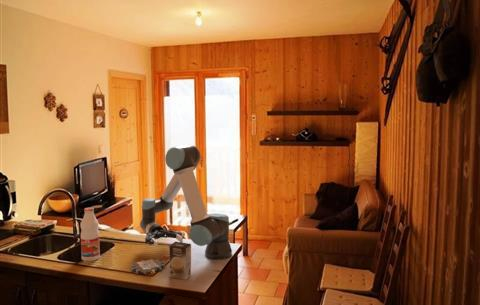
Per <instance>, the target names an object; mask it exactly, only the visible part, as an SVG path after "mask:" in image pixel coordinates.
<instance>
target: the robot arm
mask: <svg viewBox="0 0 480 305" xmlns="http://www.w3.org/2000/svg"><path fill="white" fill-rule="evenodd" d="M200 161H201V151H200V150H199V148H198V147H196V146H195V145H192V144H186V145H177V146H173V147H170V148H169V149H168V150H167V151H166V154H165V163H166V166H167V167H168V168H169V169H170V170H172V171H173V172H172V173H173V175H172V177H171V179H170V181H169V182H168V183H167V185H166V187H165V189H164V190H163V192H162V194H161V195H160V197H159V198H158V199H155V198H153V197H152V198H150V197H149V198H144V199H143V200H142V201H141V202H142V203H141V217H142V218H141V220H140V222H139V226H140V228H141V230H142V231H143V232H144V233H145V234H146V235H145V239H144V240H145V242H144V243H145V244H148V245H149V246H150V245H153V246H154V247H155V248H158V247H159V242H158V241H157V240H158V239H160V238H162V239H163V238H166V239H167V238H173V239H176V240H177V242H182V243H184V241H183V240H184V237H183V235H182V234H183V233H182V232H180V231H177V230H172V229H167V230H165V229H164V228H163V227H162V226H161V225H160V224H158V223H157V222H156V216H157V214H158V213H161V212H162V213H163V212H164V211H168V210H169V209H171V208H173V205H174V199H175V198H176V196H178V193H179V191H180V190H182V193H183V195H184V199H185V202H186V206H187V208H188V212H189V215H190V218H191V220H190V222H189V224H190V229H189V231H188V235H189V238H190V241H192V243H193V244H195V245H196V246H199V247H204V246H206V247H205V249H204V256H205V257H206V258H208V259H211V260H223V259H224V260H225V259H227V258H228V259H229V258H230V257H232V255H233V250H232V247H231V243H230V220H229V215H227V214H226V213H225V214H222V213H208V212H207V209H206V206H205V203H204V199H203V196H202V194H201V191H200V188H199V185H198V181H197V179H196V175H195V172H194V171H195V170H196V168H197V167H198V165H199V164H200Z"/></svg>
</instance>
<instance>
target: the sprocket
mask: <svg viewBox="0 0 480 305" xmlns="http://www.w3.org/2000/svg"><path fill="white" fill-rule="evenodd" d="M165 268H166V264H165V262H164V261H161V260H160V259H153V258H149V259H146V260H145V259H141V260H140V261H134V264H131V265H130V271H131V272H132V273H134V272H135V271H136V272H135V275H138V274H146V275H148V274H150V273H149V272H152V273H155V274H156V272H155V271H157V272H162V271H163V269H165ZM133 271H134V272H133ZM152 273H151V274H152Z"/></svg>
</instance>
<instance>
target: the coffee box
mask: <svg viewBox="0 0 480 305" xmlns="http://www.w3.org/2000/svg"><path fill="white" fill-rule="evenodd" d="M191 275H192V243H187V242H183V243H182V242H180V241H174V242H173V243H171V244H170V245H169V278H174V279H179V280H187V279H189V277H190V276H191Z"/></svg>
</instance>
